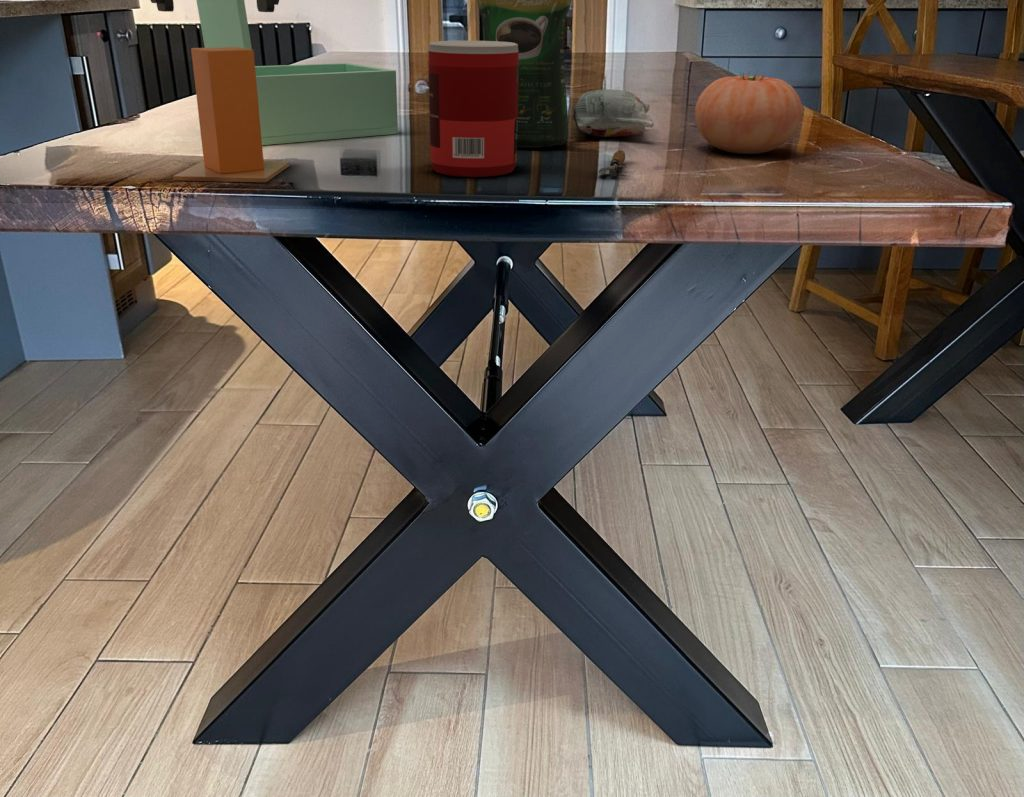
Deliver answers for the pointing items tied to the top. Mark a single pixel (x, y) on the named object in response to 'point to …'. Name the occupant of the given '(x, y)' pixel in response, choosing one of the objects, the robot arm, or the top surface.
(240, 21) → the lunchbox lid
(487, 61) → the canned food
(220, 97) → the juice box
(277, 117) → the box
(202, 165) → the coaster
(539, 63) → the green coffee bag
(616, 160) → the can opener
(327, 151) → the top surface
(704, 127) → the orange pumpkin
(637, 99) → the packaged food
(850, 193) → the top surface
